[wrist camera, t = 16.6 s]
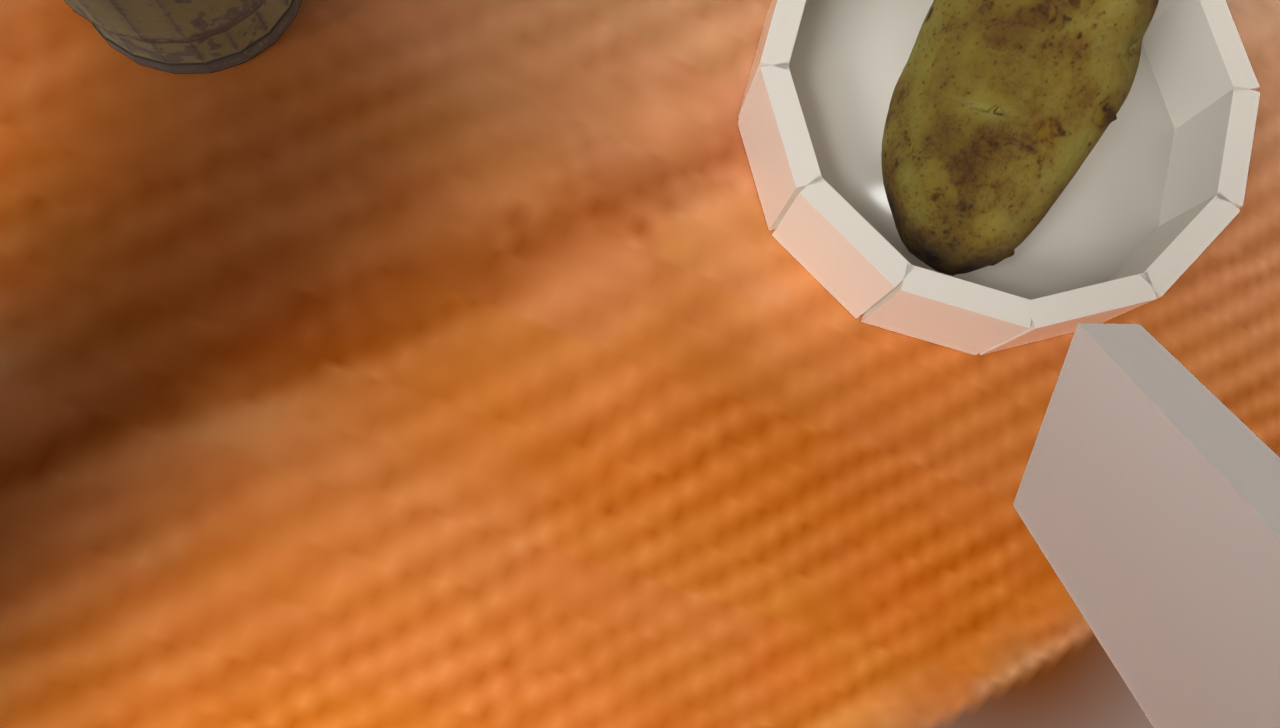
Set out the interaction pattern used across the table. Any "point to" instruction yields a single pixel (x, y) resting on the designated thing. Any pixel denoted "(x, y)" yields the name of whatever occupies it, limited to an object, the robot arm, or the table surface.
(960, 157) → the potato
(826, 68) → the bowl
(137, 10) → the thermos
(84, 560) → the table surface
